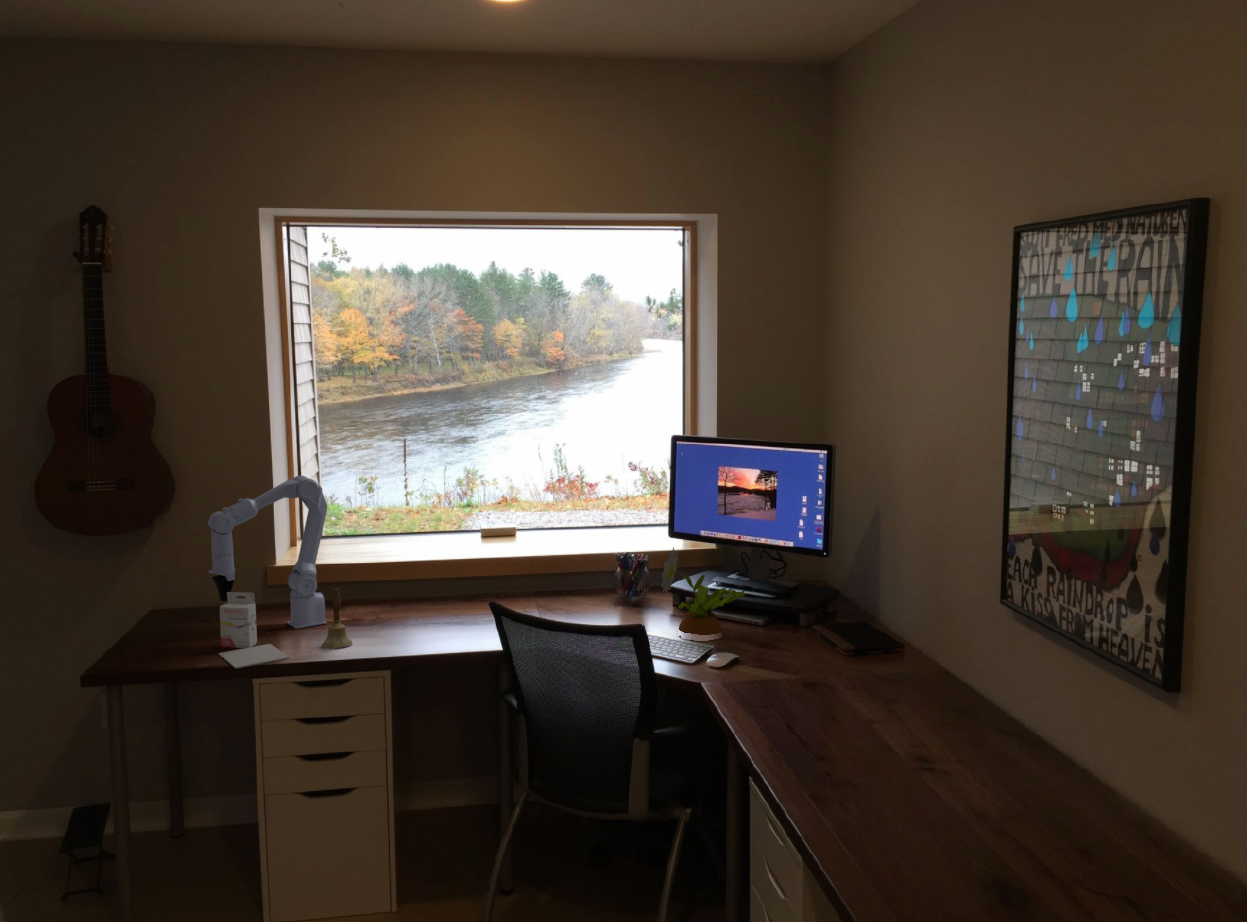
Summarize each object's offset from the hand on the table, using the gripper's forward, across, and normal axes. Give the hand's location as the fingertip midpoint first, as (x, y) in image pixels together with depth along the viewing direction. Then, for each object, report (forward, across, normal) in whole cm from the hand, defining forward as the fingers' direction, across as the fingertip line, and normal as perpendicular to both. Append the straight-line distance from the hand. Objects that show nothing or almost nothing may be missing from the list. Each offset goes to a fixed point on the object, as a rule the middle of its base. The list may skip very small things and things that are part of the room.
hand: (225, 600), depth 301 cm
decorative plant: (+11, +83, +108) cm, 137 cm away
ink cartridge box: (+11, +12, 0) cm, 16 cm away
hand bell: (+11, +28, +22) cm, 37 cm away
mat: (+10, +24, 0) cm, 26 cm away
